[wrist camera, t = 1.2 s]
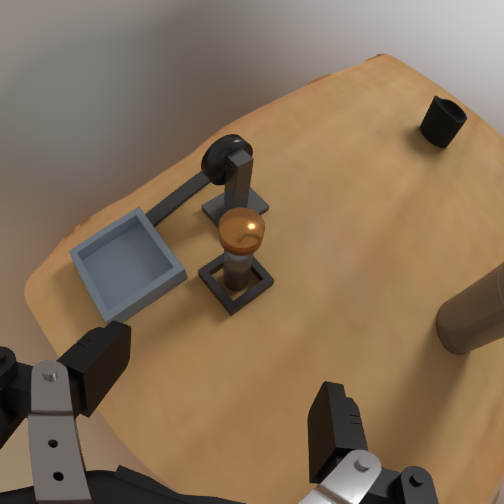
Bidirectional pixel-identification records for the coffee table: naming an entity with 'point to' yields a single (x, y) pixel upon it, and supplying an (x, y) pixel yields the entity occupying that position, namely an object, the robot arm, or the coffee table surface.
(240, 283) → the pin
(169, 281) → the tray
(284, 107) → the coffee table surface
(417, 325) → the coffee table surface
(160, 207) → the strip
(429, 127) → the pen holder
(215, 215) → the pulley stand
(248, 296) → the frame
